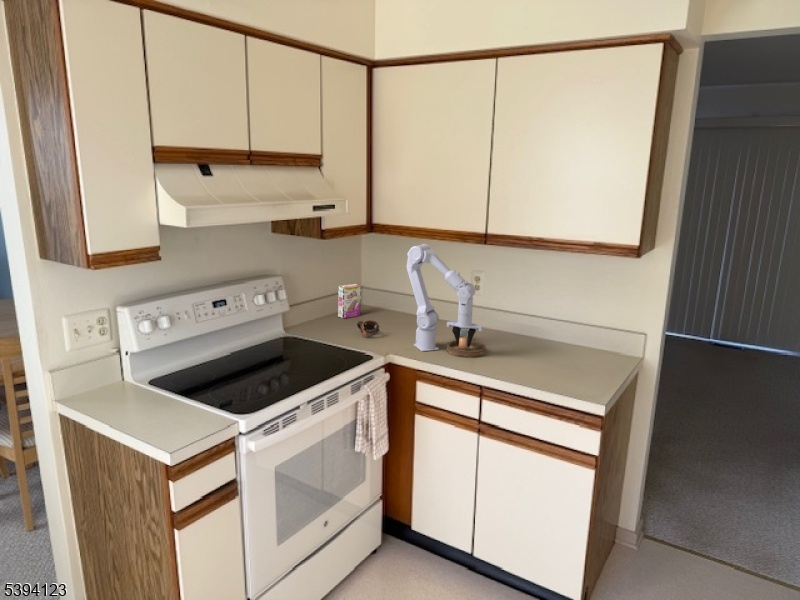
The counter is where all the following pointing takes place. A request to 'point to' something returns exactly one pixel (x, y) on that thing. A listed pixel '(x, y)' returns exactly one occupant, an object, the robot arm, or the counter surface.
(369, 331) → the pottery mug
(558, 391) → the counter surface
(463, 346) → the peach rounded cylinder
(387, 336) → the counter surface
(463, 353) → the walnut groove tray
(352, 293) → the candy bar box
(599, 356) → the counter surface
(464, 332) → the slate bead
